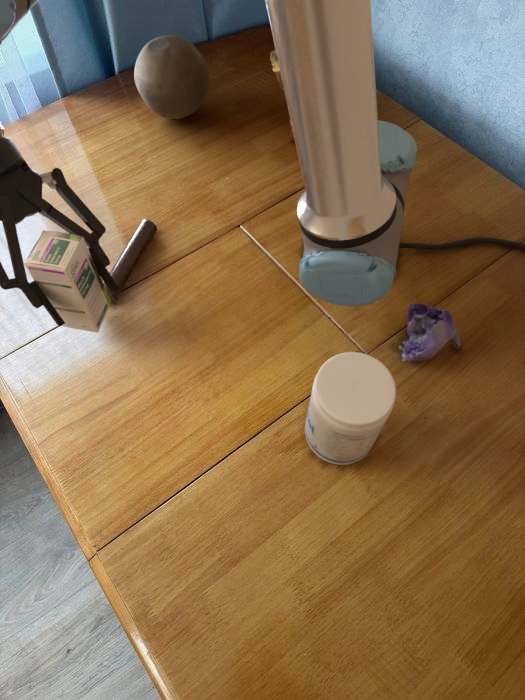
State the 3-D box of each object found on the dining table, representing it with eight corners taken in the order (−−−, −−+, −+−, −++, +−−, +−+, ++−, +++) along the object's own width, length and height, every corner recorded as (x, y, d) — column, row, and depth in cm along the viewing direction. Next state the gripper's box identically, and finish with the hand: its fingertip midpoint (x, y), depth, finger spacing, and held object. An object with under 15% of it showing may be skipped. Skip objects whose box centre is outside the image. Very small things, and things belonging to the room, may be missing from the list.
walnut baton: (142, 230, 92) (139, 217, 89) (158, 234, 91) (155, 221, 89) (100, 301, 84) (95, 289, 81) (117, 305, 84) (112, 294, 81)
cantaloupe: (137, 101, 110) (121, 27, 97) (203, 89, 112) (195, 15, 100) (150, 144, 103) (134, 70, 91) (220, 130, 106) (214, 56, 93)
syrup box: (98, 334, 77) (67, 269, 64) (60, 327, 77) (22, 261, 65) (112, 302, 79) (85, 235, 67) (75, 296, 80) (41, 228, 68)
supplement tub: (299, 404, 75) (307, 352, 62) (366, 398, 75) (387, 345, 63) (309, 471, 70) (320, 428, 57) (380, 464, 70) (406, 420, 58)
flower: (480, 298, 76) (430, 292, 71) (485, 358, 75) (434, 356, 70) (431, 310, 84) (383, 305, 79) (434, 364, 83) (386, 363, 78)
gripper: (51, 122, 71) (143, 268, 79) (-100, 194, 64) (18, 347, 72) (58, 104, 65) (158, 266, 72) (-108, 182, 58) (22, 353, 65)
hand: (88, 306), depth 72 cm, fingers closed on syrup box, 8 cm apart
